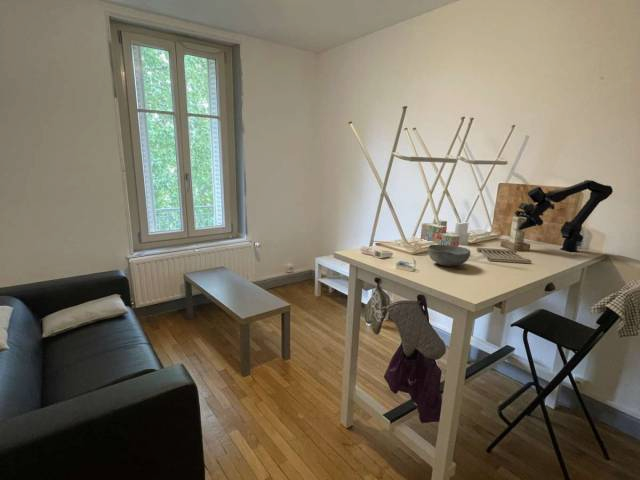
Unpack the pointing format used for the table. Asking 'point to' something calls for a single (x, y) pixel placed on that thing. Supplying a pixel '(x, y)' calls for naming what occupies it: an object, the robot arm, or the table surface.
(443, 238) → the stack of blocks
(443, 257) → the bowl
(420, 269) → the table surface
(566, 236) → the robot arm
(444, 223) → the skincare box
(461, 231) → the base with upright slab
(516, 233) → the birch block
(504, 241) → the walnut block
